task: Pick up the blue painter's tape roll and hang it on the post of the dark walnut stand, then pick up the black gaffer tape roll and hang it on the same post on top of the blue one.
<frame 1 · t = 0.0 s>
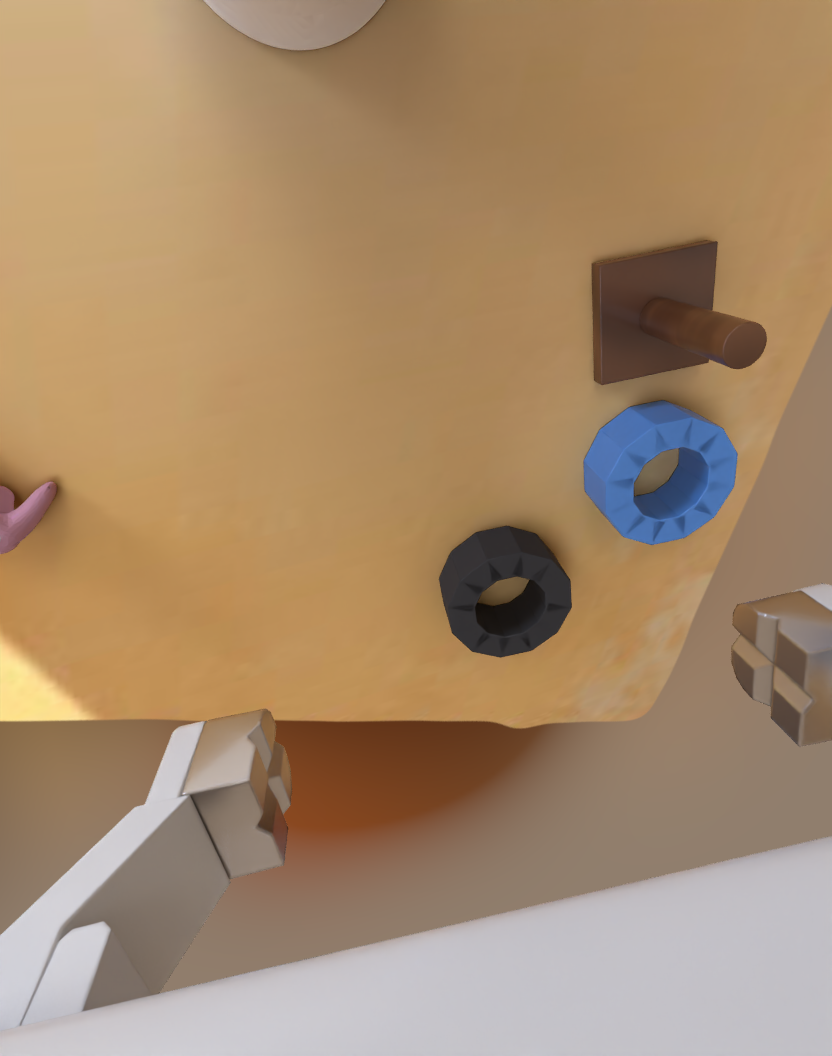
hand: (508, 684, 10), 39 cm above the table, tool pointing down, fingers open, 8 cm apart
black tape: (497, 578, 57), on the table
wooden stand: (647, 313, 46), on the table
blue tape: (644, 462, 53), on the table
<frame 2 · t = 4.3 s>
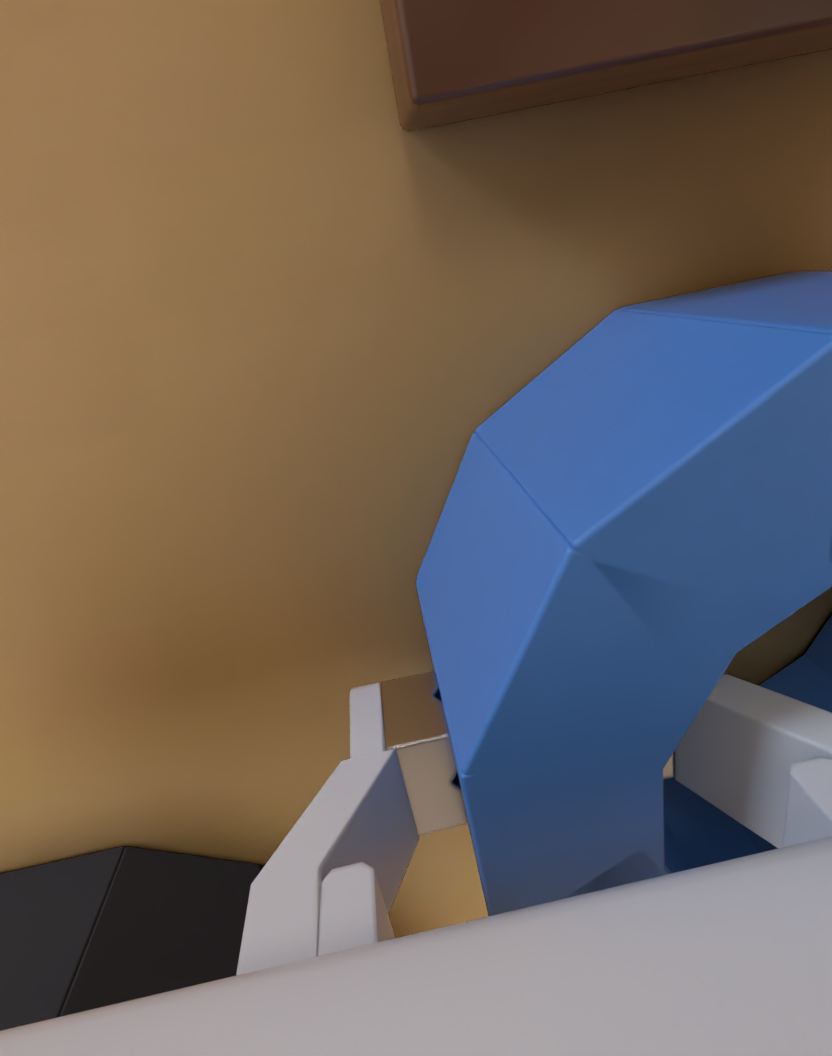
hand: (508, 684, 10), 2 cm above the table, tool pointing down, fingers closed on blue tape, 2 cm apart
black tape: (150, 1006, 15), on the table
blue tape: (700, 584, 12), on the table, touching gripper
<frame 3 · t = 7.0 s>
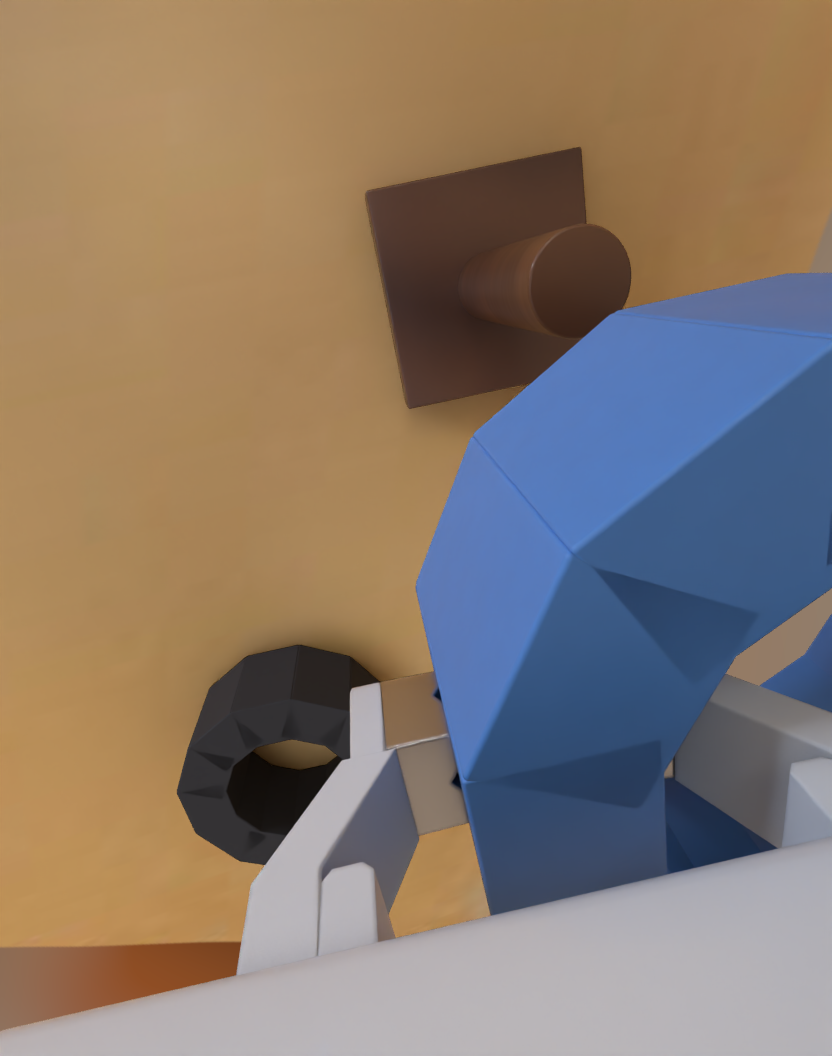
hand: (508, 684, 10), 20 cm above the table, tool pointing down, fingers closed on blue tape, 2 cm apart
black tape: (299, 727, 35), on the table
wooden stand: (482, 286, 27), on the table
blue tape: (699, 585, 12), point 19 cm above the table, touching gripper
when the fingers open (12 cm above the table, at t = 10.1 s): blue tape drops 9 cm, resting on wooden stand.
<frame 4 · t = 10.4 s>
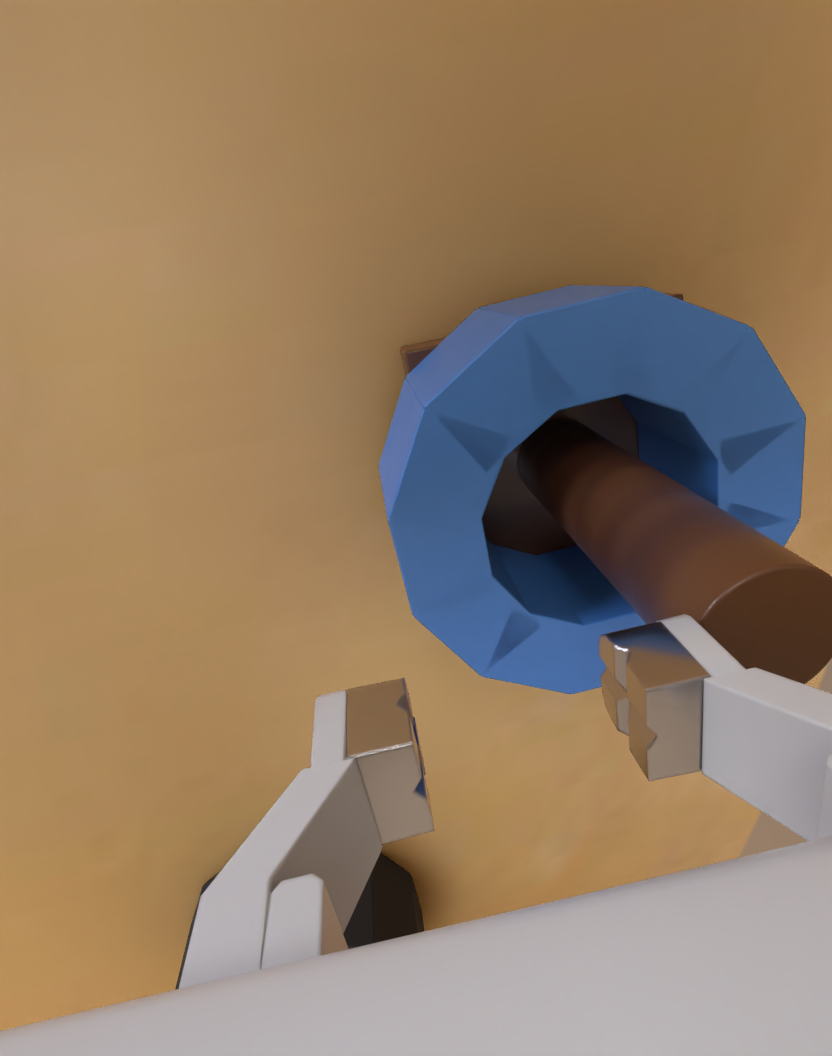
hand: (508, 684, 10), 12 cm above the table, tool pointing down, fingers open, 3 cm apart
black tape: (309, 918, 30), on the table
wooden stand: (544, 447, 21), on the table
blue tape: (547, 467, 20), point 1 cm above the table, touching wooden stand
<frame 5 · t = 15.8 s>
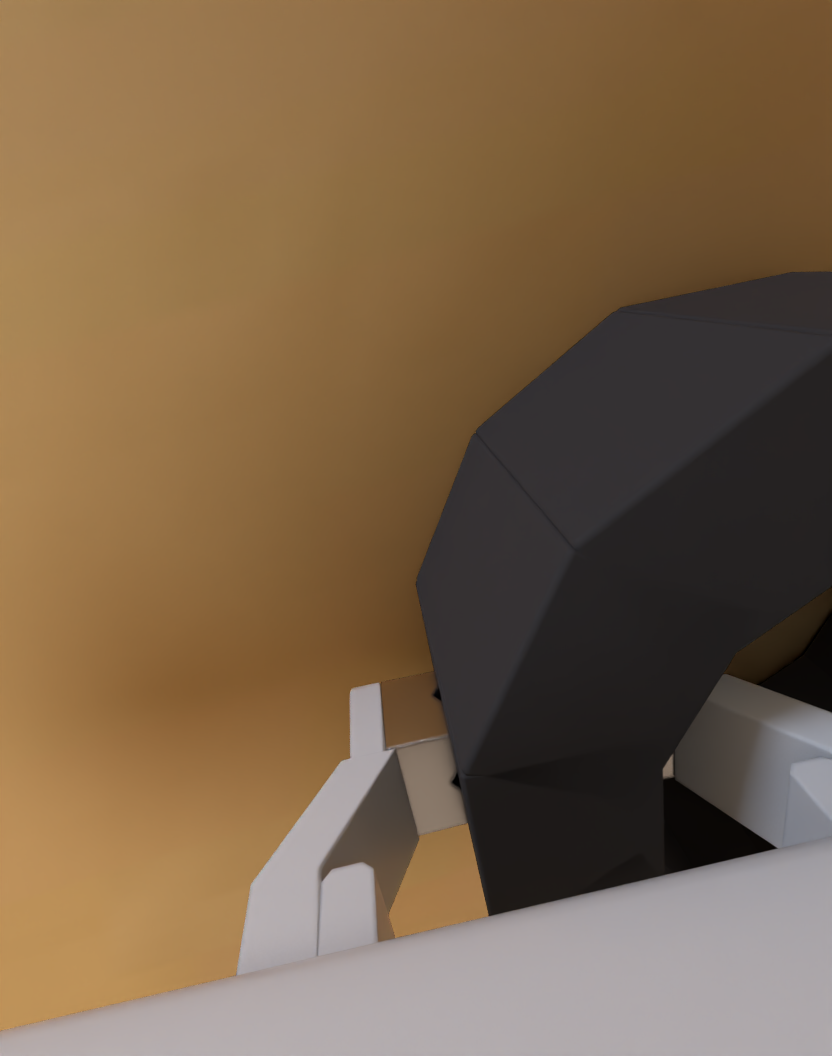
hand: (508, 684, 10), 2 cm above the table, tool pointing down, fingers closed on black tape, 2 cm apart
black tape: (700, 584, 12), on the table, touching gripper
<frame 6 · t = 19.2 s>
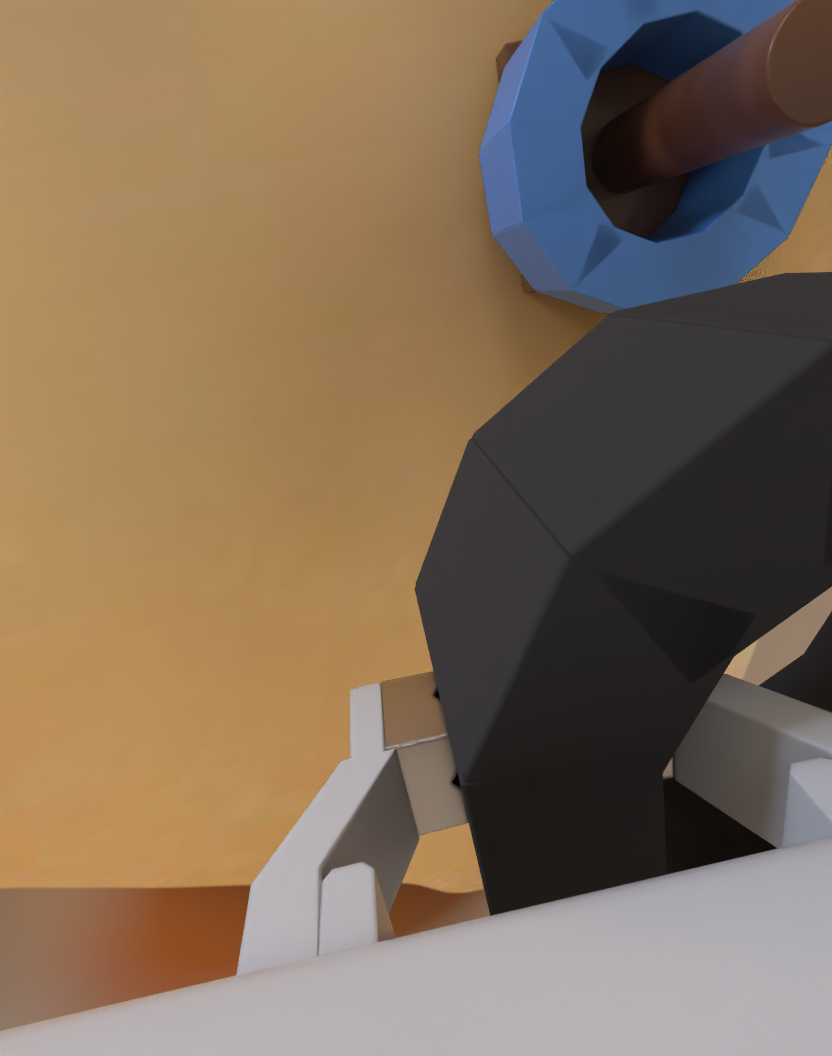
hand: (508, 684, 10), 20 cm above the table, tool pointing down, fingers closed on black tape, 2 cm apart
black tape: (699, 585, 12), point 19 cm above the table, touching gripper
wooden stand: (610, 162, 26), on the table
blue tape: (616, 162, 24), point 1 cm above the table, touching wooden stand
when the fingers open (12 cm above the table, at t = 22.7 s): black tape drops 3 cm, resting on blue tape.
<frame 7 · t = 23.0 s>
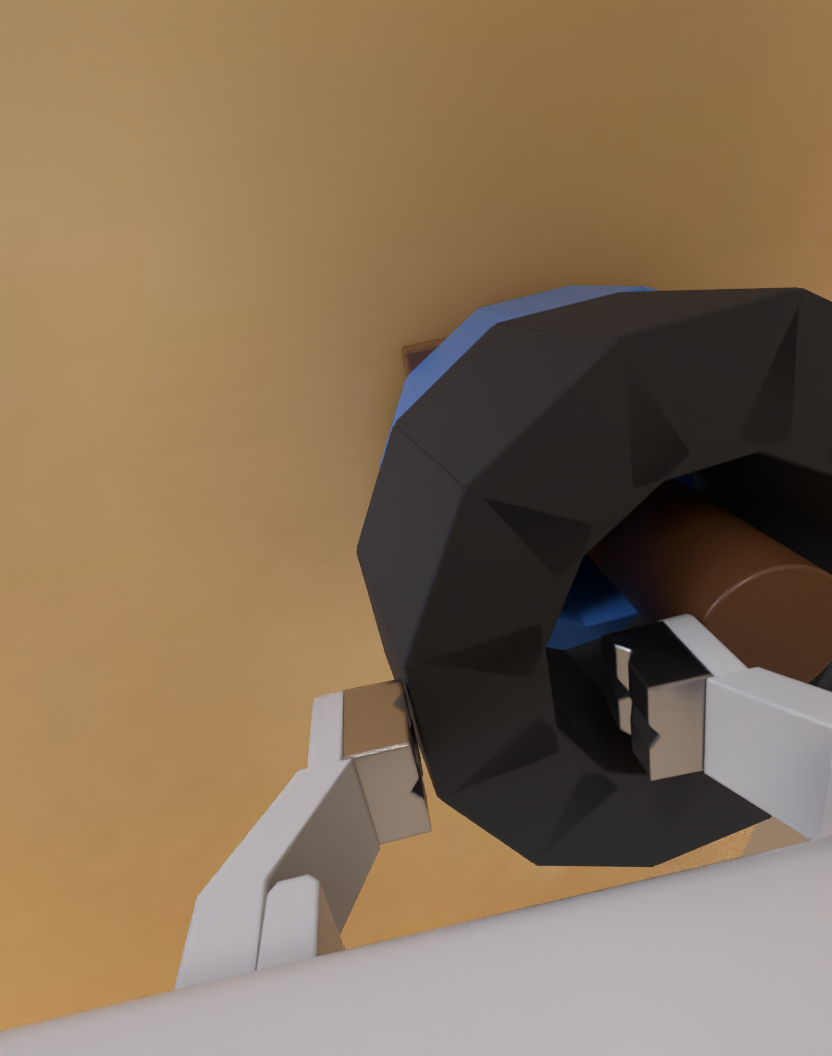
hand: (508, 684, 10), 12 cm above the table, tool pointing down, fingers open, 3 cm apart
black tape: (581, 536, 15), point 7 cm above the table, tilted 8°, touching blue tape
wooden stand: (545, 447, 21), on the table
blue tape: (548, 467, 20), point 1 cm above the table, touching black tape, wooden stand
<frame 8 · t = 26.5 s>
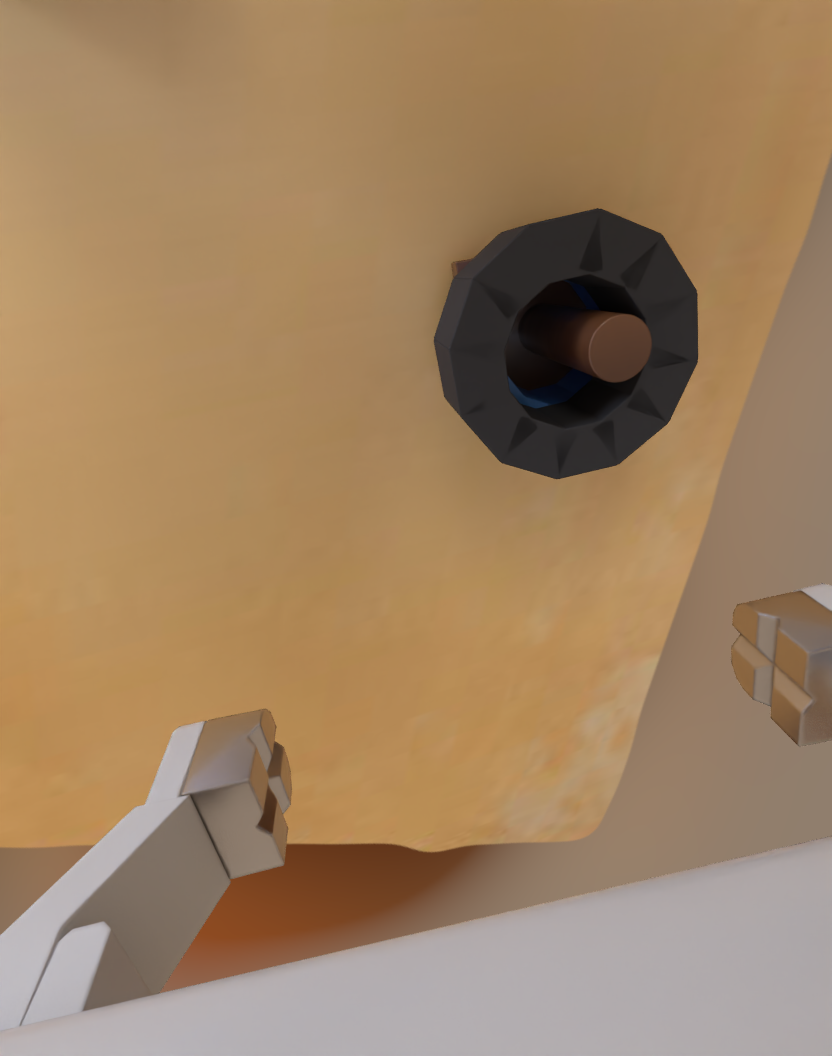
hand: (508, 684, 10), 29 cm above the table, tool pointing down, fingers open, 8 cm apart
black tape: (543, 344, 30), point 6 cm above the table, touching blue tape
wooden stand: (533, 327, 36), on the table
blue tape: (535, 333, 35), point 1 cm above the table, touching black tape, wooden stand
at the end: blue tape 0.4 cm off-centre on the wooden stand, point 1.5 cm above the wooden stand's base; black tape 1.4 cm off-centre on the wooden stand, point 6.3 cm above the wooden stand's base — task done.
